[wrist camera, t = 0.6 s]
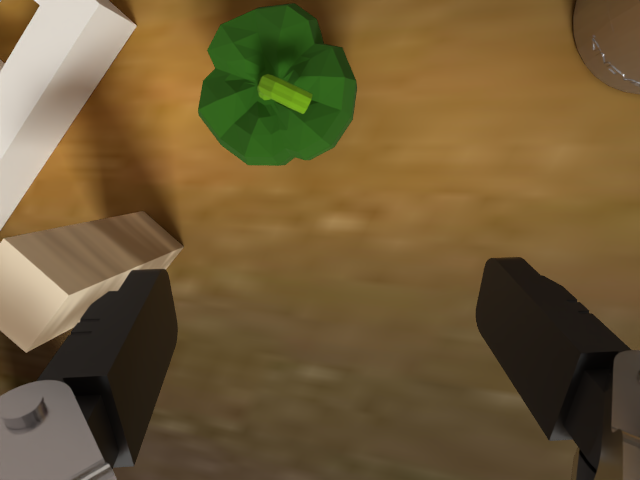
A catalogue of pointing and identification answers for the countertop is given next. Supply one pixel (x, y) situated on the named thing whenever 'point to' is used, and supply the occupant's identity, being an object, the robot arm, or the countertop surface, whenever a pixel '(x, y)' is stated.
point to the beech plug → (73, 272)
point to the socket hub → (51, 84)
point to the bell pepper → (276, 87)
